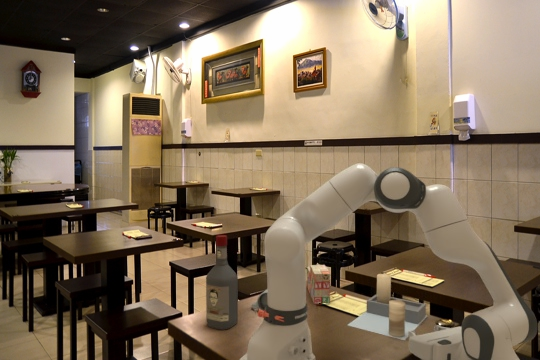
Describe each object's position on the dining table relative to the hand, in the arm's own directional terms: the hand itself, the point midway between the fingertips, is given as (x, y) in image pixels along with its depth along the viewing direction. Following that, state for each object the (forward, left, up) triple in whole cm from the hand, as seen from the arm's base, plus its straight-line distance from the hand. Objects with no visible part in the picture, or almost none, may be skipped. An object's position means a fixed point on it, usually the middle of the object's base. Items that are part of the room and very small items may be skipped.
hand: (422, 330), depth 120 cm
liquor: (-19, +61, -7) cm, 64 cm away
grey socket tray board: (+15, +16, -6) cm, 22 cm away
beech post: (+6, +10, -5) cm, 12 cm away
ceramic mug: (0, +57, -7) cm, 57 cm away
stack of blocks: (+26, +49, -7) cm, 56 cm away
